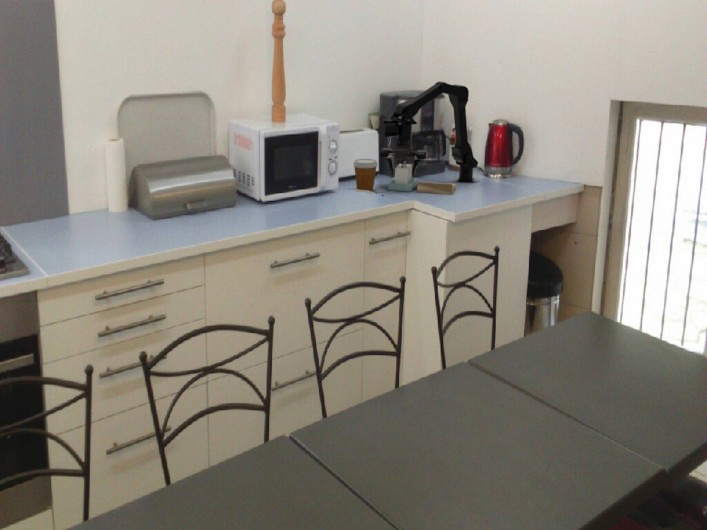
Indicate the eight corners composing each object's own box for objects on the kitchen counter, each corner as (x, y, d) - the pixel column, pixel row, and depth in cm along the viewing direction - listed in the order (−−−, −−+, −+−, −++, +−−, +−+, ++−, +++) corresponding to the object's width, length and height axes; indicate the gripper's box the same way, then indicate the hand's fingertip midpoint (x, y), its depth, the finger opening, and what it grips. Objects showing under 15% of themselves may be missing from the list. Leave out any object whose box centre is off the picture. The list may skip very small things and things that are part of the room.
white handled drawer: (399, 183, 311) (400, 160, 308) (411, 184, 310) (412, 161, 307) (394, 187, 303) (395, 164, 300) (406, 188, 302) (407, 165, 299)
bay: (421, 186, 309) (422, 176, 307) (455, 188, 305) (455, 178, 304) (417, 192, 299) (417, 182, 298) (451, 194, 296) (452, 184, 294)
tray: (394, 182, 314) (394, 176, 314) (417, 184, 312) (417, 178, 311) (387, 189, 302) (387, 183, 301) (411, 191, 300) (411, 185, 299)
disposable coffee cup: (362, 187, 306) (362, 157, 302) (381, 190, 301) (382, 160, 297) (348, 191, 299) (348, 161, 295) (367, 194, 294) (368, 164, 290)
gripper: (376, 138, 295) (376, 177, 300) (424, 140, 291) (422, 180, 296) (383, 133, 305) (382, 172, 310) (429, 136, 301) (427, 174, 306)
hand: (403, 174), depth 305 cm, fingers open, 8 cm apart
